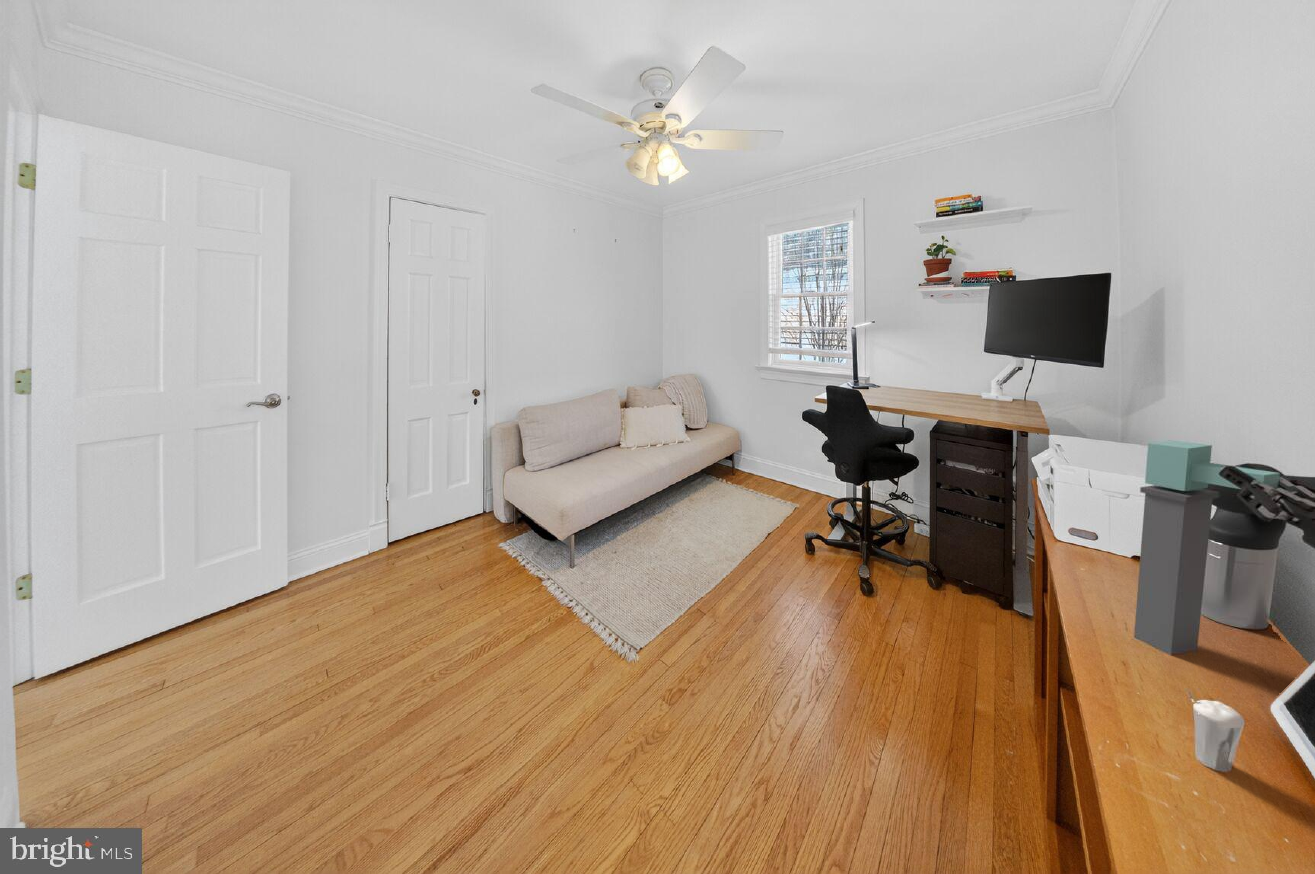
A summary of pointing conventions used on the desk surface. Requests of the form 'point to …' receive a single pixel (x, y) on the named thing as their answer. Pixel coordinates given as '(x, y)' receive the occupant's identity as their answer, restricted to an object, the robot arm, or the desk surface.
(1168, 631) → the stand
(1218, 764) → the milkshake
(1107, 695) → the desk surface
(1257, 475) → the teal handle
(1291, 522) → the robot arm
